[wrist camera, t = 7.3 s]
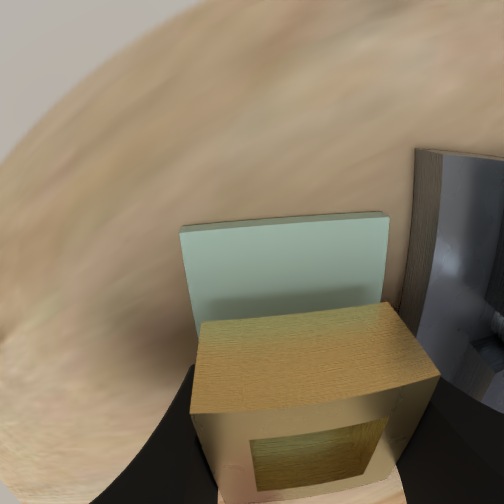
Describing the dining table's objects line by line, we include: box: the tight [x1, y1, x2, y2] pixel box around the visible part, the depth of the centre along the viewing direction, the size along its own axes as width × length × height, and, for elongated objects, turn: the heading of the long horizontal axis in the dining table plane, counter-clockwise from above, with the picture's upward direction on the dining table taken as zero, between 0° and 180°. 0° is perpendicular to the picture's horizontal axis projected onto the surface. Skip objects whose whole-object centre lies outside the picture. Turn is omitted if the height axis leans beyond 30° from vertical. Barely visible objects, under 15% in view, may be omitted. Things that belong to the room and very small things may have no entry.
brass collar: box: [190, 302, 441, 504], centre depth 7 cm, size 5×5×3 cm
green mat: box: [179, 212, 390, 340], centre depth 10 cm, size 9×6×1 cm, turn 4°
